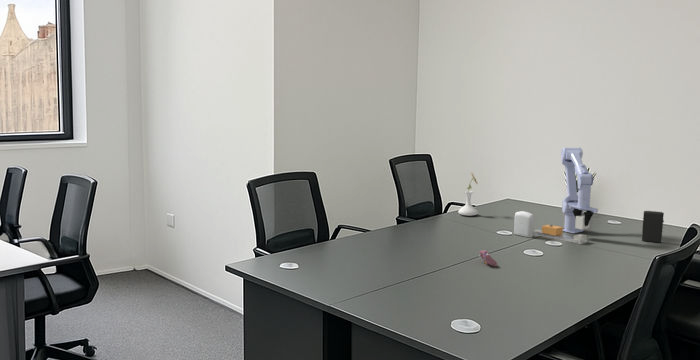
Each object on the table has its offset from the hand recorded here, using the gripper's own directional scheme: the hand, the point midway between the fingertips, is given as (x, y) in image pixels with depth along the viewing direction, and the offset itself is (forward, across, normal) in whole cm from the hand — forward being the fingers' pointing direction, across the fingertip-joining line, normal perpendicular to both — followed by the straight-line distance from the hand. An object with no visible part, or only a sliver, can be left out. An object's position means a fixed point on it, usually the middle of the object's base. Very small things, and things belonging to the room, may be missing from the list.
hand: (582, 224), depth 343 cm
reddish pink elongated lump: (+7, +2, -76) cm, 77 cm away
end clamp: (+5, -11, -9) cm, 15 cm away
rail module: (+2, 0, 0) cm, 2 cm away
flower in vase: (+7, -73, 0) cm, 74 cm away
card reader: (+7, +25, +22) cm, 34 cm away
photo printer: (+7, -21, -19) cm, 29 cm away
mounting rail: (+7, -7, -9) cm, 14 cm away
